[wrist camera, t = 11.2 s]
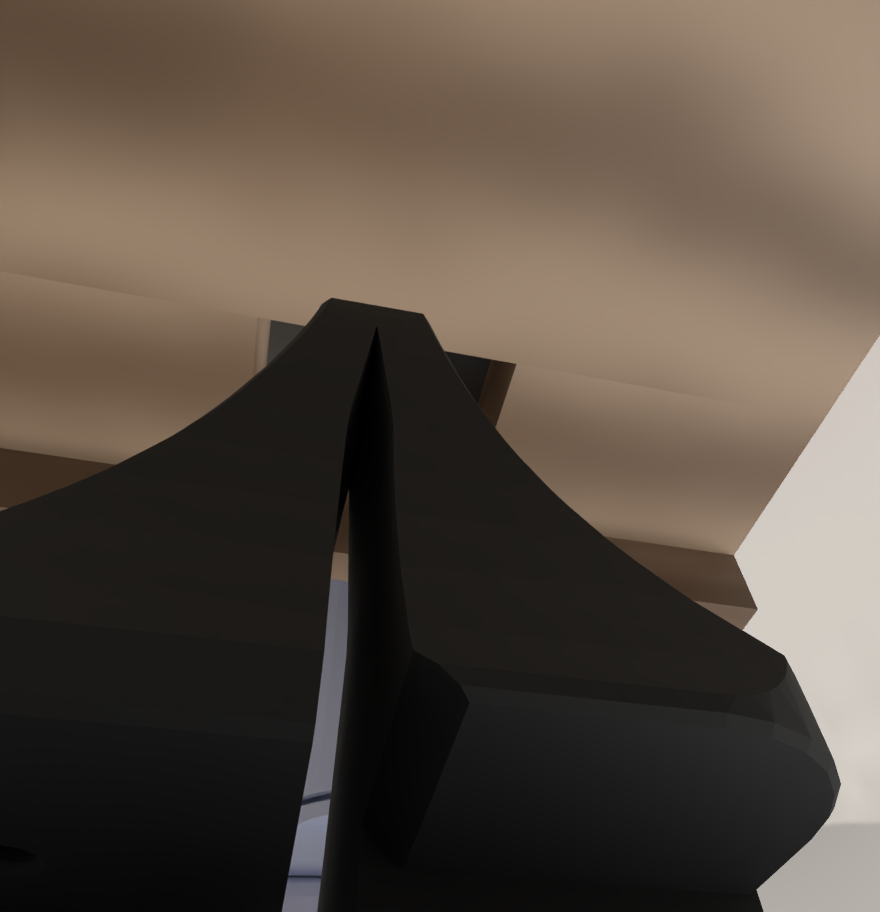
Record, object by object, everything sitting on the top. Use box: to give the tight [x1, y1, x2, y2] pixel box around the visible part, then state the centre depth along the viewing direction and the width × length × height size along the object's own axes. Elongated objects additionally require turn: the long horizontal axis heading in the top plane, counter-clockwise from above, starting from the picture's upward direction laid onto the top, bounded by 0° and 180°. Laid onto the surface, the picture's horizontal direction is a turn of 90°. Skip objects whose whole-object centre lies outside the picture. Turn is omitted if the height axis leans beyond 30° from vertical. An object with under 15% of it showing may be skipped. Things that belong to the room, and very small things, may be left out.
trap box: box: [0, 0, 880, 630], centre depth 14 cm, size 21×31×5 cm
